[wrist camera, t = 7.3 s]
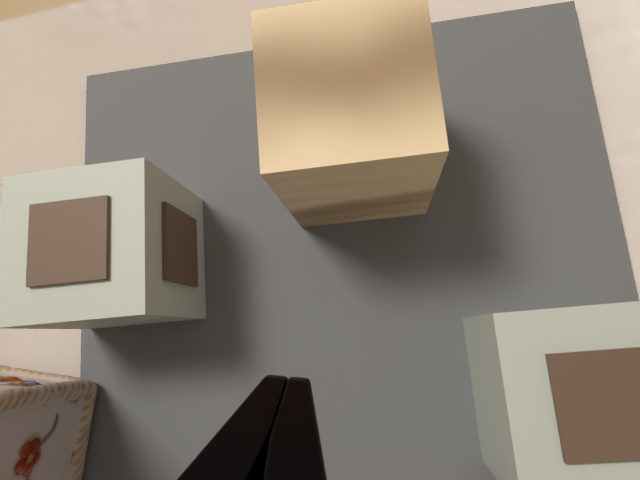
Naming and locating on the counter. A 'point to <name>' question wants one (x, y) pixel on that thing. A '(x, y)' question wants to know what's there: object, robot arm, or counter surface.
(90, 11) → the counter surface
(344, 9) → the plain maple block
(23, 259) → the brown paneled pale cube
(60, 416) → the decorative jar
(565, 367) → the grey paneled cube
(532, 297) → the slate rubber mat
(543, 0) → the counter surface
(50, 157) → the counter surface
